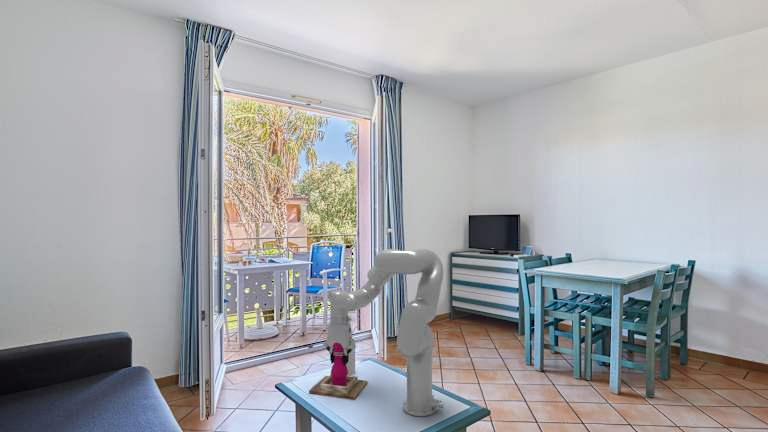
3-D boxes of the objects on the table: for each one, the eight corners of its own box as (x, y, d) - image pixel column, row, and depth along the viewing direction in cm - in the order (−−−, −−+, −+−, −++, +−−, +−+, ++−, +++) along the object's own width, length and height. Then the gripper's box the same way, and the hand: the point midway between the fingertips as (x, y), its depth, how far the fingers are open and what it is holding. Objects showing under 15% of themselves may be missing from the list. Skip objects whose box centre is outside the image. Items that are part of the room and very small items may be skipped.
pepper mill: (344, 387, 161) (345, 338, 161) (328, 385, 163) (328, 337, 163) (350, 380, 168) (350, 333, 169) (333, 378, 170) (334, 332, 170)
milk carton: (346, 369, 187) (346, 329, 187) (355, 373, 182) (355, 332, 182) (333, 373, 182) (333, 332, 182) (343, 377, 177) (343, 335, 177)
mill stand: (367, 383, 170) (367, 375, 170) (354, 399, 155) (354, 391, 155) (325, 378, 176) (325, 370, 176) (308, 393, 161) (308, 385, 161)
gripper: (361, 319, 167) (361, 362, 167) (324, 316, 172) (324, 358, 172) (355, 323, 160) (355, 368, 160) (316, 320, 165) (317, 364, 164)
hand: (339, 362), depth 166 cm, fingers closed on pepper mill, 5 cm apart
